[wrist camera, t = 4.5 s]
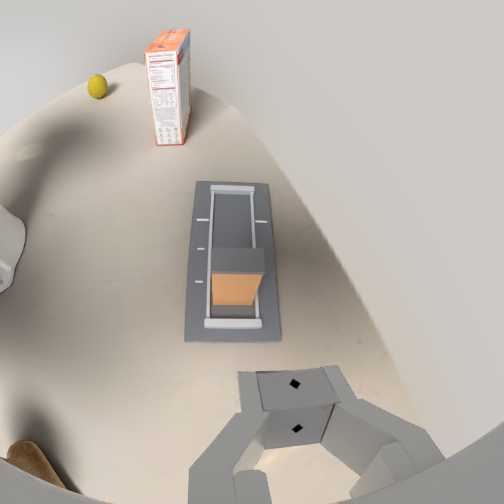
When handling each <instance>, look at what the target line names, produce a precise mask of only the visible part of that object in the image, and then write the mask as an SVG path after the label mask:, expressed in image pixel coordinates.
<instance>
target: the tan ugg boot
mask: <svg viewBox="0 0 504 504" xmlns="http://www.w3.org/2000/svg"><path fill="white" fill-rule="evenodd" d="M0 459H2V460H4V461H6V462H7V463H9V464H11V465H13V466H15V467H17V468H19V469H21V470H23V471H25V472H27V473H29V474H31V475H33V476H35V477H37V478H39V479H42V480H44V481H46V482H49V483H51V484H53V485H56V486H58V487H61V488H64V489H66V488H65V486H64V485H63V483H62V482H61V480H60V479H59V477H58V476H57V474H56V473H55V471H54V470H53V468H52V467H51V465H50V463H49V462H48V460H47V459H46V457H45V456H44V454H43V453H42V451H41V450H40V449H39V447H38V446H37V445H36V444H35V443H33V442H31V441H19V442H16V443H14V444H13V445H11V446H10V448H9V450H8V453H7V459H5V458H2V457H0ZM66 490H67V489H66Z"/></svg>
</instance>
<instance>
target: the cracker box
mask: <svg viewBox="0 0 504 504" xmlns="http://www.w3.org/2000/svg"><path fill="white" fill-rule="evenodd" d="M144 56H145V65H146V74H147V82H148V90H149V98H150V105H151V112H152V119H153V125H154V131H155V137H156V143H157V145H183V144H184V140H185V135H186V130H187V125H188V121H189V116H190V111H191V85H190V29H184V30H166V31H163V32H162V33H161V34H160V35H159V36H158V37H157V39H156V40H155V41H154V42H153V43H152V44H151V46H150V47H149V48H148V49H147V50H146V51H145V53H144Z"/></svg>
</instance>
